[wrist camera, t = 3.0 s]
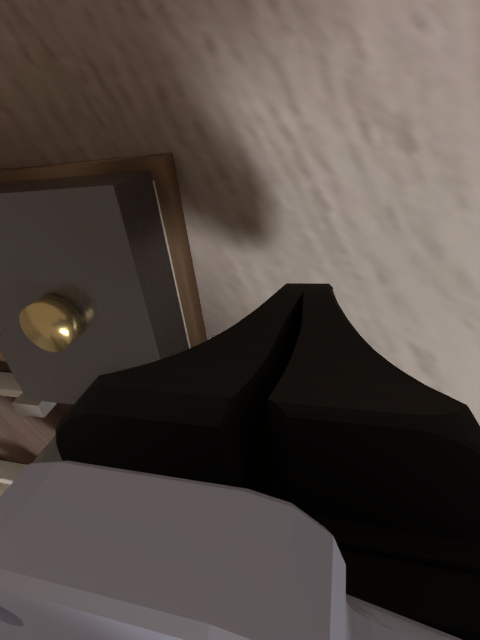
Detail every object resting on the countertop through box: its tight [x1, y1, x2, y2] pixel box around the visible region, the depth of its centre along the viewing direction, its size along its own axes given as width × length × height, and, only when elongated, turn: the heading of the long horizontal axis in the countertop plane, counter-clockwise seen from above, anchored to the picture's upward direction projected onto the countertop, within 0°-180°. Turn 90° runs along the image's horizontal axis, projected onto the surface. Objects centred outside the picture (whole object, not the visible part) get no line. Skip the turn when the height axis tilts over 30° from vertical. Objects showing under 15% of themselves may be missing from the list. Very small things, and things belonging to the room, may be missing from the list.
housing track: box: [0, 153, 207, 361], centre depth 16 cm, size 16×9×1 cm, turn 97°
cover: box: [0, 170, 189, 405], centre depth 13 cm, size 7×8×3 cm
